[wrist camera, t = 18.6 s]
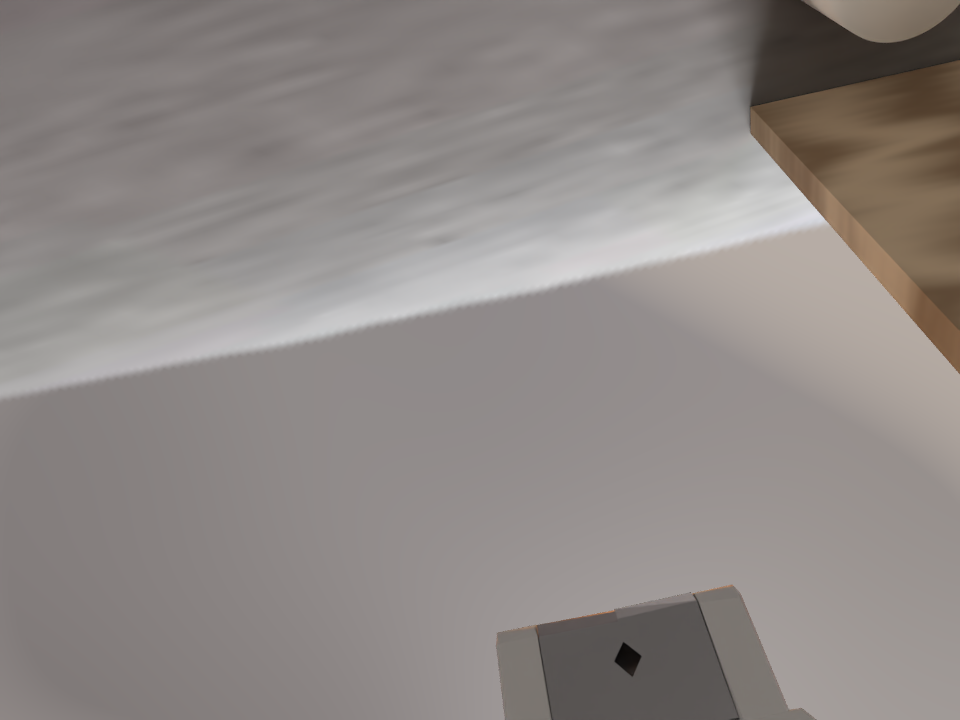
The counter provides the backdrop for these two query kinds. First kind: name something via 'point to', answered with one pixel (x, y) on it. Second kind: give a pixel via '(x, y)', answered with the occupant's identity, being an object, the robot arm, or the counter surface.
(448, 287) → the counter surface
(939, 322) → the oak counter shelf
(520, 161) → the counter surface
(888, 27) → the cream rounded cylinder
